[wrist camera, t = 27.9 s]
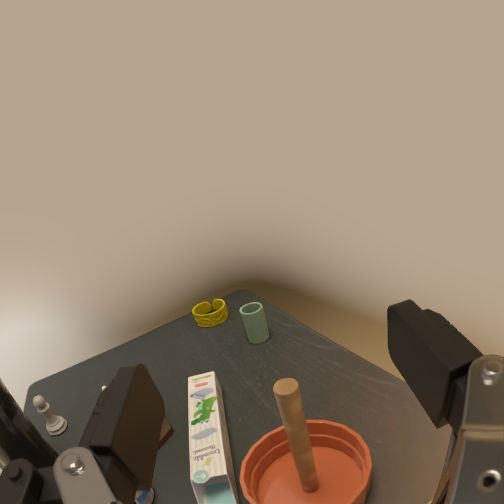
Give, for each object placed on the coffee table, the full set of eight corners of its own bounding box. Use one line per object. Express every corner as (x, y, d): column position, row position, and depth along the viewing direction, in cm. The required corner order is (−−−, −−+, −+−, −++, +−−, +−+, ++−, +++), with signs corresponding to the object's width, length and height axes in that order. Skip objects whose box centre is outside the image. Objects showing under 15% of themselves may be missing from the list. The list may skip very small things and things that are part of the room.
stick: (300, 492, 29) (270, 394, 23) (303, 479, 31) (276, 377, 25) (317, 493, 28) (295, 394, 22) (320, 479, 30) (300, 377, 24)
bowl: (269, 552, 22) (257, 540, 20) (240, 464, 35) (229, 442, 34) (390, 504, 24) (395, 484, 22) (340, 428, 37) (337, 403, 36)
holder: (251, 346, 61) (242, 316, 59) (246, 335, 66) (237, 306, 63) (272, 339, 62) (264, 309, 60) (266, 328, 66) (258, 300, 64)
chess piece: (57, 417, 48) (36, 387, 46) (71, 422, 47) (49, 391, 44) (45, 432, 44) (22, 402, 41) (58, 438, 42) (34, 407, 40)
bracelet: (229, 322, 72) (225, 310, 71) (195, 330, 72) (191, 318, 71) (228, 307, 79) (224, 296, 78) (197, 315, 79) (193, 303, 78)
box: (221, 389, 51) (246, 536, 25) (196, 395, 51) (208, 542, 24) (213, 370, 50) (235, 525, 23) (188, 377, 49) (194, 530, 23)
